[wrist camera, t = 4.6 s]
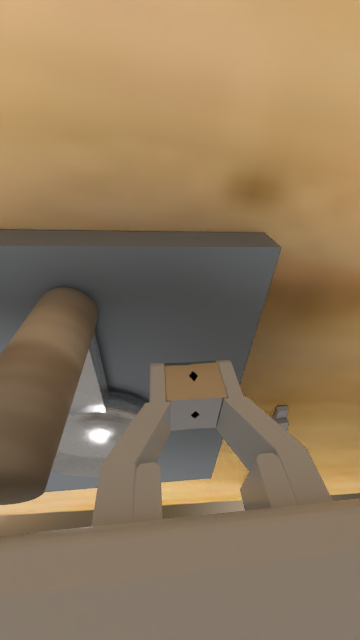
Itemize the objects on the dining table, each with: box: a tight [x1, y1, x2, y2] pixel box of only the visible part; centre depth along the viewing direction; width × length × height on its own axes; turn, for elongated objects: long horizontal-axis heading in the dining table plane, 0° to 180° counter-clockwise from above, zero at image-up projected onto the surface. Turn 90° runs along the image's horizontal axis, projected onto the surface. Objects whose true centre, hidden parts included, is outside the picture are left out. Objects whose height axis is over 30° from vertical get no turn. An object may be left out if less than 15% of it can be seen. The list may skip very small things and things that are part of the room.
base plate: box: [0, 230, 281, 492], centre depth 18 cm, size 21×26×2 cm
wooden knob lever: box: [0, 287, 146, 505], centre depth 12 cm, size 15×8×7 cm, turn 178°
